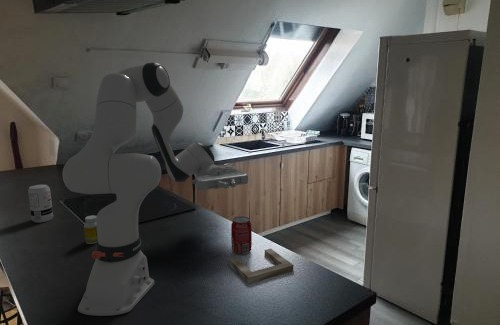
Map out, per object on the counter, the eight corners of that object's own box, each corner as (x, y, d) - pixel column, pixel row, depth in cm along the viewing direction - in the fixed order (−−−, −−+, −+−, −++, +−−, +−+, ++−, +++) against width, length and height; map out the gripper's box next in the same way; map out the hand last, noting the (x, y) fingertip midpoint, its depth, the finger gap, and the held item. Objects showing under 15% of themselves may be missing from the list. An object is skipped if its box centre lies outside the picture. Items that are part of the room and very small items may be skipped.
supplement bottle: (88, 238, 142) (86, 214, 140) (103, 238, 142) (100, 214, 140) (83, 244, 137) (80, 219, 135) (98, 244, 137) (95, 219, 135)
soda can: (240, 245, 135) (240, 214, 133) (255, 250, 131) (255, 218, 128) (227, 252, 130) (226, 219, 127) (242, 258, 126) (242, 224, 123)
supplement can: (32, 218, 163) (27, 185, 160) (53, 215, 167) (49, 183, 164) (31, 224, 156) (26, 190, 153) (53, 221, 160) (49, 187, 157)
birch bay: (293, 270, 117) (293, 264, 116) (248, 283, 109) (248, 277, 109) (270, 253, 129) (270, 248, 128) (228, 264, 121) (228, 258, 121)
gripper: (189, 172, 139) (203, 180, 127) (238, 166, 149) (255, 173, 137) (190, 188, 140) (203, 198, 129) (238, 181, 150) (255, 190, 138)
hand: (230, 185), depth 133 cm, fingers closed
